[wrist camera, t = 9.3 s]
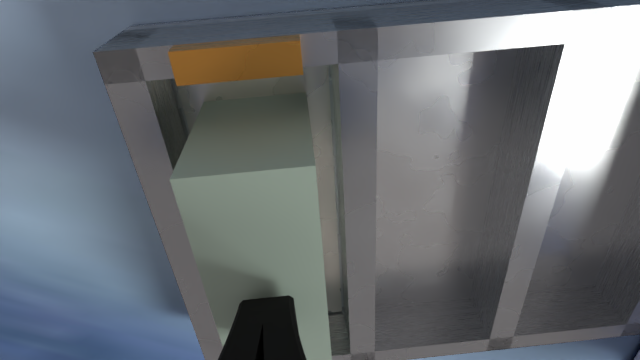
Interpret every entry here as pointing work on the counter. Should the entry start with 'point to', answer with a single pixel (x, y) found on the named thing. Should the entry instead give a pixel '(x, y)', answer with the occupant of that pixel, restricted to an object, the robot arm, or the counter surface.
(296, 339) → the robot arm
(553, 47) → the rack
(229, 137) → the pale green rectangular box
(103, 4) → the counter surface
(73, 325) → the counter surface
